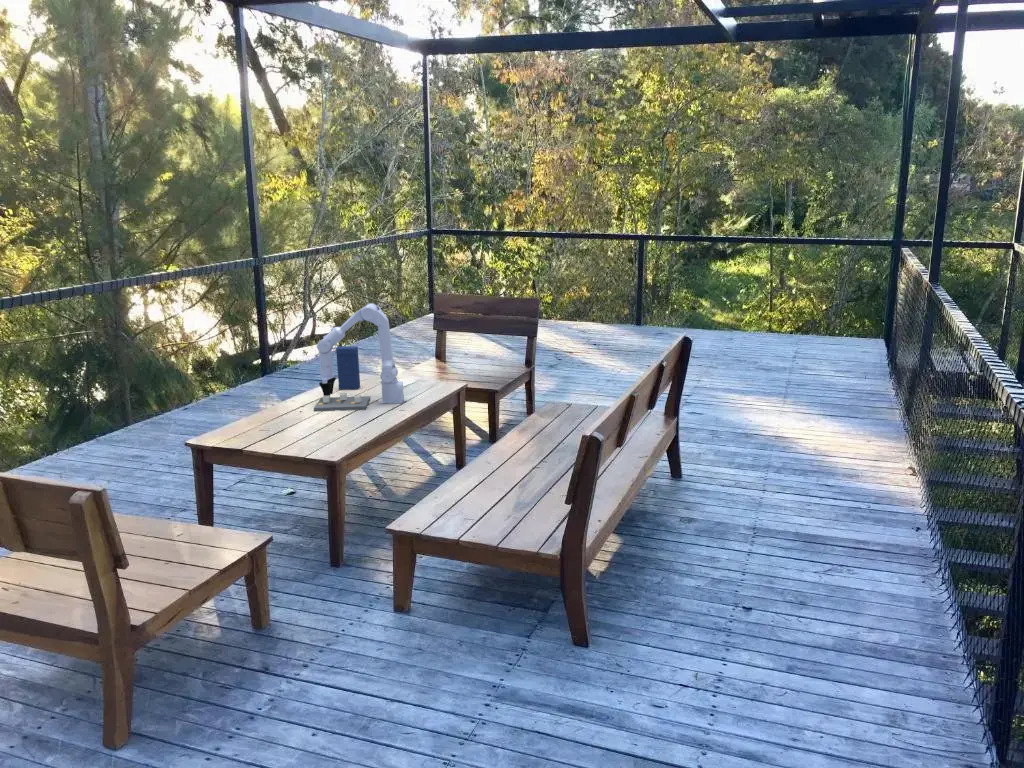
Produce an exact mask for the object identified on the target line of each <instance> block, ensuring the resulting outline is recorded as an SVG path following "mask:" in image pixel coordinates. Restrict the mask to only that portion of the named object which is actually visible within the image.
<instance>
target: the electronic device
mask: <svg viewBox="0 0 1024 768" xmlns="http://www.w3.org/2000/svg"><path fill="white" fill-rule="evenodd" d="M335 350H336V354H335V355H336V364H337V366H336V367H337V368H336V369H337V380H338V381H337V382H338V390H359V389H361V377H360V362H359V346H357V345H353V346H352V345H350V346H348V345H347V346H345V345H344V346H342V345H341V346H337V347H335Z"/></svg>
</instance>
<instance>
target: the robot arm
mask: <svg viewBox="0 0 1024 768" xmlns="http://www.w3.org/2000/svg"><path fill="white" fill-rule="evenodd" d="M363 321H366V322H370V323H373V324H374V325H375V326H377V331H378V338H379V340H378V341H379V347H380V356H381V357H380V358H381V372H380V375H379V376H380V380H381V397H382V399H381V402H380V404H402V403H404V399H405V394H404V383H403V381H399V379H398V378H397V376H398V374H399V373H398V371H399V370H398V368H397V367H396V363H395V360H394V357H393V356H394V355H393V348H392V340H391V331H390V322H389V318H388V317H387V315H386V314H385V313H384V312H383V310H382V309H381V307H380V306H378V305H376V304H375V303H373V302H372V303H367V304H366V305H365V306H363V307H362V308H360V309H359V310H356V311H355V312H354V313H353V314H351V316H350V317H349V318H348V319H346V321H345V322H343V324H341V326H335V327H332V328H331V329H330V332H329V333H327V334H326V335H323V337H322V339H319V341H318V342H317V345H316V349H317V350H318V355H319V356H318V359H319V360H318V361H319V372H320V373H319V375H318V376H317V378H318V379H319V378H320V379H321V381H320V382H319V383H318V385H319V387H320V388H321V391H322V394H323V396H324V395H330V396H331V395H333V392H334V387H335V381H336V378H337V377H335V374H334V372H335V371H334V361H333V359H334V358H333V347H334V346H336V345H337V344H338V343H339V342H340V341H341V340H343V339H344V338H345V336H346V332H347V331H348V330H350V328H352V327H353V326H354V325H355V324H356V323H357V322H363Z"/></svg>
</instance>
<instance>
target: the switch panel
mask: <svg viewBox="0 0 1024 768" xmlns="http://www.w3.org/2000/svg"><path fill="white" fill-rule="evenodd" d="M354 397H355V396H347V399H346V400H340V396H337V397H336V396H335V397H333V396H332V397H331V396H330V402H328V403H323V397H321V398H319V400H318V402H316V404H315V406H314V407H313V412H332V411H333V412H334V411H335V410H340V411H365V410H367V408H368V406H369V404H370V402H369V401H371V400H370V399H372V398H371V396H370V395H365V396H364V395H363V396H362V395H361V403H355V398H354ZM335 412H336V411H335Z"/></svg>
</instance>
